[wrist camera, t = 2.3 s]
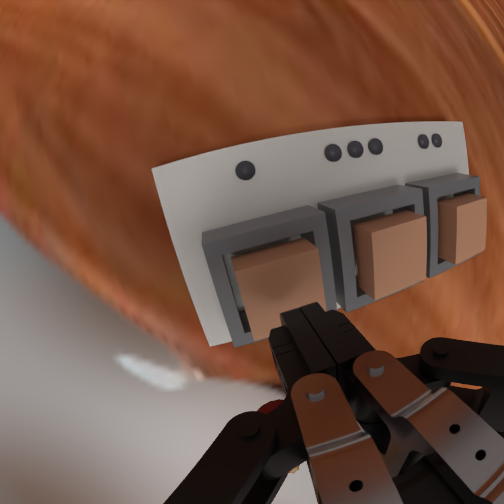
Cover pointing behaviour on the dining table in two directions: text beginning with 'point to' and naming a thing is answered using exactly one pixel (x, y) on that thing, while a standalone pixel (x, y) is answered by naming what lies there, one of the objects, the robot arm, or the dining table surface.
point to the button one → (278, 282)
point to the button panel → (304, 206)
